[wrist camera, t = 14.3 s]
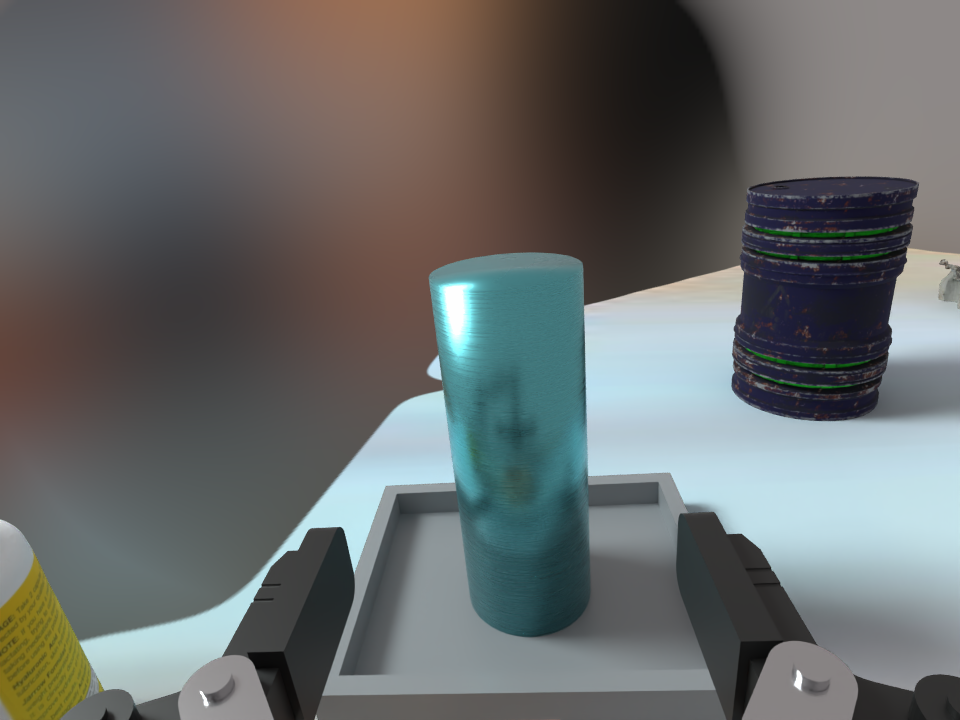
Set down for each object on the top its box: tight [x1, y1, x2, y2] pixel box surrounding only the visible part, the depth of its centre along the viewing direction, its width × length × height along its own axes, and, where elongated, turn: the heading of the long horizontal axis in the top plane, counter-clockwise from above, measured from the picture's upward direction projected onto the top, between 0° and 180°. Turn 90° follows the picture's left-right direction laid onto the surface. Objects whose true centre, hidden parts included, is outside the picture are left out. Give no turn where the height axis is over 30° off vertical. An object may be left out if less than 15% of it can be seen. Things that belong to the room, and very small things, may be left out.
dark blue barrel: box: [731, 177, 919, 421], centre depth 40 cm, size 10×10×15 cm
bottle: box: [429, 253, 591, 637], centre depth 23 cm, size 6×6×15 cm
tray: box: [316, 473, 726, 720], centre depth 26 cm, size 16×13×2 cm
